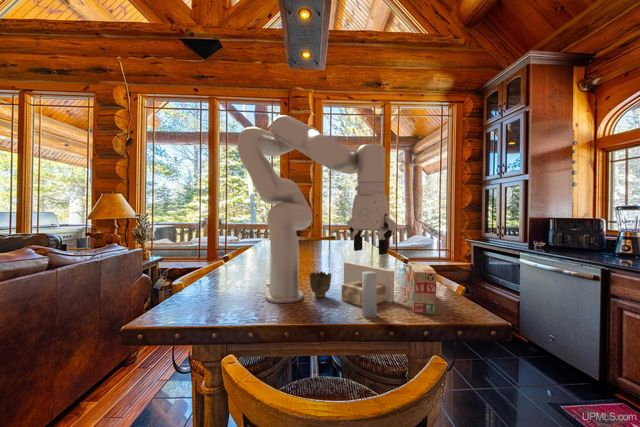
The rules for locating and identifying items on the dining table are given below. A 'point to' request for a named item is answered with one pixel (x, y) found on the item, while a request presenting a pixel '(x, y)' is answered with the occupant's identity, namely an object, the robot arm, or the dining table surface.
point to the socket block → (360, 292)
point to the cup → (320, 283)
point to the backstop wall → (382, 277)
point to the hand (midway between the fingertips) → (370, 251)
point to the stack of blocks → (421, 288)
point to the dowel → (369, 294)
